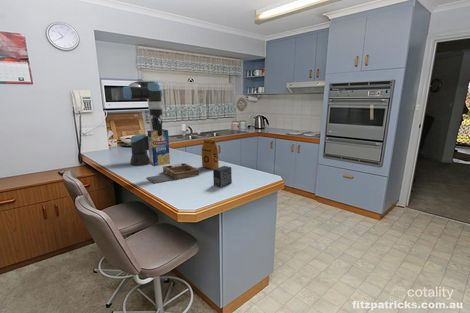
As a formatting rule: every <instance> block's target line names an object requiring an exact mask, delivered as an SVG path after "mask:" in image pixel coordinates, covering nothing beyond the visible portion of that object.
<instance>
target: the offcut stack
mask: <svg viewBox="0 0 470 313" xmlns="http://www.w3.org/2000/svg"><path fill="white" fill-rule="evenodd" d="M177 164H178V165H176V164H171V168H173V167H179V166H182V165H181V164H182V163H177Z"/></svg>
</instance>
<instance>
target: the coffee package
mask: <svg viewBox="0 0 470 313" xmlns="http://www.w3.org/2000/svg"><path fill="white" fill-rule="evenodd" d="M219 160H220V158H219V150H218V146H217V142H216V140H215V139H209V138H203V143H202V146H201V167H202V168H203V167H204V168H206V169H210V170H213V169H216V168H219V167H220V166H219Z"/></svg>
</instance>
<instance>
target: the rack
mask: <svg viewBox="0 0 470 313" xmlns="http://www.w3.org/2000/svg"><path fill="white" fill-rule="evenodd" d="M178 164H179V163H176V164H175V165H178ZM180 164H181V165H182V166H179V167H173V168H171V165H172V164H171V165H170V164H169V165H163V166H162V171H163V174H168V175H170V176H171V177H173V178H175V181H176V180H180V179H186V178H192V177H196V176H200V168H199V169H198V168H197V167H194V166H192V165H190V164H187V163H185V162H183V163H180Z"/></svg>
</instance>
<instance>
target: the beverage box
mask: <svg viewBox="0 0 470 313" xmlns="http://www.w3.org/2000/svg"><path fill="white" fill-rule="evenodd" d="M146 132H147V136H148V145H149V150H148V153H149V154H148V156H149V159H150V163H149V165H151V166H153V167H157V166H166V165H170V164H171V158H170V157H171V156H170V142H169V141H170V140H169V130H168V129H165V128H162V136H158V131H156V130H150V129H147V130H146Z"/></svg>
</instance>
